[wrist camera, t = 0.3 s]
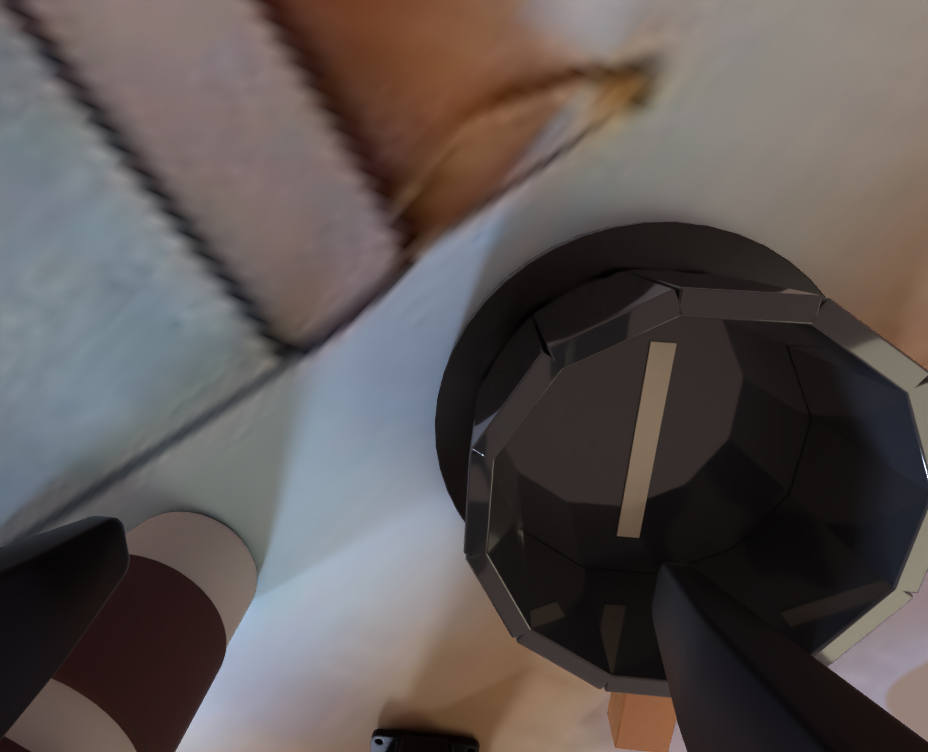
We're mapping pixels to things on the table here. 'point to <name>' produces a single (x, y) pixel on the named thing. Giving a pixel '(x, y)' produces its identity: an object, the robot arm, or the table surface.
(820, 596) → the bowl
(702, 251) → the turntable
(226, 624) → the coffee cup
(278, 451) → the table surface
